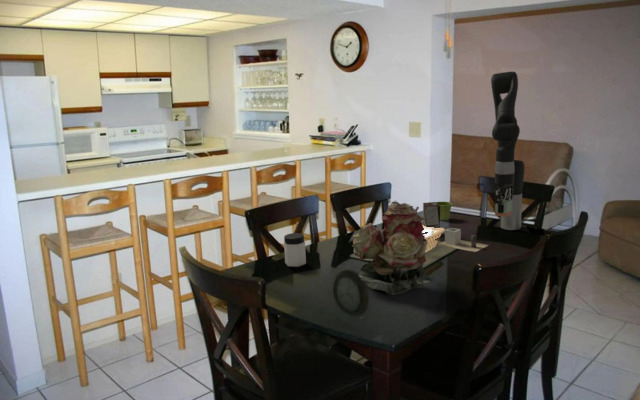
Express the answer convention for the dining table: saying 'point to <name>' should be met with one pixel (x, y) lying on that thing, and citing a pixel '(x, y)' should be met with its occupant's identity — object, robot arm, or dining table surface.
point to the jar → (294, 249)
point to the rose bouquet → (393, 250)
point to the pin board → (467, 245)
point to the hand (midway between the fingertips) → (503, 211)
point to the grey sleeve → (452, 236)
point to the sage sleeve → (507, 208)
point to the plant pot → (444, 210)
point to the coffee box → (431, 214)
